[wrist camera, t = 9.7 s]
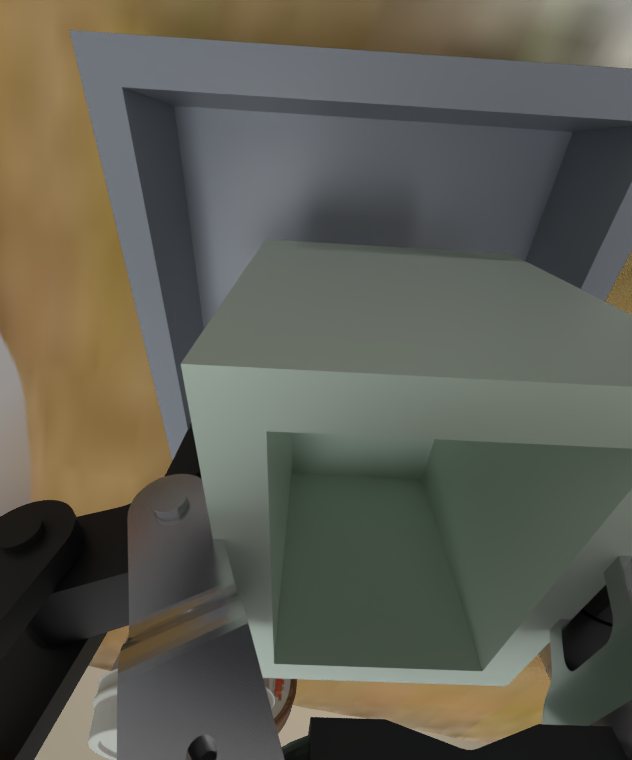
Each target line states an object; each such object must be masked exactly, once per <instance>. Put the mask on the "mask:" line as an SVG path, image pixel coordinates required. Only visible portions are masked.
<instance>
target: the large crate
mask: <svg viewBox="0 0 632 760" xmlns="http://www.w3.org/2000/svg"><path fill="white" fill-rule="evenodd" d="M69 31H70V35H71V39H72V43H73V47H74V51H75V56H76V60H77V64H78V68H79V72H80V77H81V81H82V85H83V89H84V93H85V97H86V102H87V106H88V110H89V114H90V118H91V122H92V127H93V131H94V135H95V139H96V143H97V148H98V152H99V156H100V160H101V164H102V168H103V173H104V177H105V181H106V185H107V189H108V194H109V198H110V202H111V206H112V210H113V214H114V219H115V223H116V227H117V231H118V235H119V239H120V244H121V248H122V252H123V256H124V260H125V265H126V269H127V273H128V277H129V281H130V285H131V290H132V294H133V298H134V302H135V306H136V311H137V315H138V319H139V323H140V327H141V331H142V336H143V340H144V344H145V348H146V352H147V356H148V361H149V365H150V369H151V373H152V377H153V382H154V386H155V390H156V394H157V398H158V402H159V407H160V411H161V415H162V419H163V423H164V428H165V432H166V436H167V440H168V444H169V448H170V453H171V457H172V461H173V459H174V457H175V455H176V453H177V451H178V449H179V447H180V444H181V442H182V440H183V438H184V436H185V434H186V432H187V430H188V429H189V428H190V424H191V418H190V412H189V407H188V401H187V396H186V391H185V385H184V380H183V374H182V369H181V362H182V361H183V360H184V358H185V357H186V355H187V354H188V352H189V351H190V349H191V348H192V346H193V345H194V343H195V342H196V340H197V339H198V337H199V336H200V335H201V333H202V332H203V330H204V329H205V327H206V326H207V324H208V323H209V321H210V320H211V318H212V317H213V315H214V314H215V313H216V311H217V310H218V308H219V307H220V305H221V304H222V302H223V301H224V299H225V298H226V296H227V295H228V293H229V292H230V290H231V289H232V288H233V286H234V285H235V283H236V282H237V280H238V279H239V277H240V276H241V274H242V273H243V271H244V270H245V268H246V267H247V266H248V264H249V263H250V261H251V260H252V258H253V257H254V255H255V254H256V252H257V251H258V249H259V248H260V246H261V245H262V243H263V242H264V241H265V239H268V240H285V241H302V242H319V243H336V244H354V245H371V246H388V247H405V248H422V249H440V250H457V251H474V252H491V253H508V254H512V255H514V256H516V257H518V258H520V259H522V260H524V261H526V262H528V263H530V264H532V265H534V266H536V267H538V268H540V269H542V270H544V271H546V272H548V273H550V274H552V275H554V276H556V277H558V278H560V279H562V280H564V281H566V282H568V283H570V284H572V285H574V286H576V287H578V288H580V289H582V290H584V291H585V292H587V293H589V294H591V295H593V296H595V297H597V298H599V299H601V300H603V301H605V300H606V298H607V296H608V294H609V292H610V290H611V289H612V287H613V285H614V283H615V281H616V279H617V277H618V275H619V273H620V271H621V269H622V268H623V266H624V264H625V262H626V260H627V258H628V256H629V254H630V252H631V250H632V69H628V68H614V67H599V66H584V65H570V64H555V63H541V62H526V61H511V60H497V59H482V58H468V57H453V56H438V55H424V54H409V53H395V52H380V51H365V50H351V49H336V48H322V47H307V46H293V45H278V44H263V43H249V42H234V41H220V40H205V39H190V38H176V37H161V36H147V35H132V34H117V33H103V32H88V31H74V30H69Z"/></svg>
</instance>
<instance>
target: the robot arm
mask: <svg viewBox="0 0 632 760" xmlns="http://www.w3.org/2000/svg"><path fill="white" fill-rule="evenodd" d="M603 573H604V577H605V582H606V585H605V586H604V587H603V588H602V589H601V590H600V591H599V592H598V593H597V594H596V595H595V596H594V597H593V598H592V599H591V600H590V601H589V602H588V603H587V604H586V605H585V606H584V607H583V608H582V609H581V610H580V611H579V613H578V614H577V615H576V616H575V617H574V618H573V619H560V620H559V621H558V622H557V623H556V624H555V625H554V626H553V627H552V628H551V629H550V630H549V634H550V642H549V643H548V644H547V645H546V646H545V647H544V648H543V649H542V650H541V651H540V653H539V655H540V657H541V659H542V662H543V664H544V666H545V668H546V672H547V674H548V676H549V678H550V680H551V684H550V688H549V690H548V693H547V696H546V699H545V703H544V709H543V719H542V724H538V725H536V726H533V727H531V728H528V729H526V730H523V731H521V732H518V733H516V734H513V735H511V736H508V737H506V738H503V739H501V740H498V741H496V742H493V743H491V744H488V745H486V746H483V747H481V748H478V749H475V750H465V749H461V748H458V747H456V746H453V745H450V744H448V743H445V742H443V741H440V740H438V739H435V738H432V737H430V736H427V735H425V734H422V733H419V732H417V731H414V730H412V729H409V728H406V727H404V726H401V725H398V724H396V723H393V722H391V721H388V720H385V719H352V718H320V717H311V719H310V726H309V734H308V736H305V737H303V738H300V739H297V740H295V741H293V742H290V743H288V744H287V745H285V746H283V747H281V745H280V741H279V737H278V733H277V729H276V725H275V721H274V718H273V714H272V710H271V706H270V703H269V699H268V695H267V691H266V688H265V684H264V680H263V676H262V673H261V669H260V665H259V661H258V658H257V654H256V650H255V646H254V643H253V639H252V635H251V631H250V628H249V624H248V620H247V616H246V613H245V609H244V606H243V603H242V600H241V597H240V595H239V594H238V591H237V588H236V585H235V581H234V577H233V573H232V570H231V566H230V562H229V558H228V554H227V550H226V546H225V543H224V539H213V537H212V532H211V526H210V521H209V515H208V510H207V505H206V499H205V494H204V488H203V483H202V477H201V472H200V467H199V461H198V456H197V450H196V445H195V439H194V434H193V429H192V423H191V424H190V428H189V429H188V430H187V432H186V434H185V436H184V438H183V440H182V442H181V444H180V447H179V449H178V451H177V453H176V455H175V457H174V459H173V461H172V463H171V465H170V467H169V469H168V471H167V473H166V475H165V477H163V478H160V479H158V480H156V481H154V482H152V483H150V484H149V485H147V486H146V487H145V488H143V489H142V490H141V491H140V492H139V493H138V494H137V495H136V497H135V498H134V499H133V501H132V503H131V504H128V505H125V506H122V507H118V508H114V509H110V510H105V511H101V512H97V513H92V514H88V515H83V516H79V517H76V515H75V513H74V511H73V510H72V508H71V507H70V506H69V505H68V504H66V503H64V502H61V501H56V500H43V501H37V502H33V503H29V504H26V505H23V506H21V507H18V508H16V509H14V510H12V511H10V512H8V513H6V514H4V515H3V516H1V517H0V760H34V759H35V757H36V755H37V754H38V752H39V750H40V748H41V747H42V745H43V743H44V741H45V740H46V738H47V736H48V734H49V733H50V731H51V729H52V727H53V726H54V724H55V722H56V721H57V719H58V717H59V715H60V714H61V712H62V710H63V708H64V707H65V705H66V703H67V701H68V700H69V698H70V696H71V695H72V693H73V691H74V689H75V688H76V686H77V684H78V682H79V681H80V679H81V677H82V675H83V674H84V672H85V670H86V668H87V667H88V665H89V663H90V662H91V660H92V658H93V656H94V655H95V653H96V651H97V649H98V648H99V646H100V644H101V642H102V641H103V639H104V637H105V636H106V634H107V632H108V631H112V630H115V629H118V628H121V627H124V626H127V625H129V636H128V640H127V642H126V643H125V644H123V646H122V648H121V651H120V655H119V662H118V675H117V760H632V556H618V557H617V558H616V560H615V561H614V562H613V563H612V564H611V565H610V566H609V567H608V568H607V569H606V570H605V571H604V572H603Z"/></svg>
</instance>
